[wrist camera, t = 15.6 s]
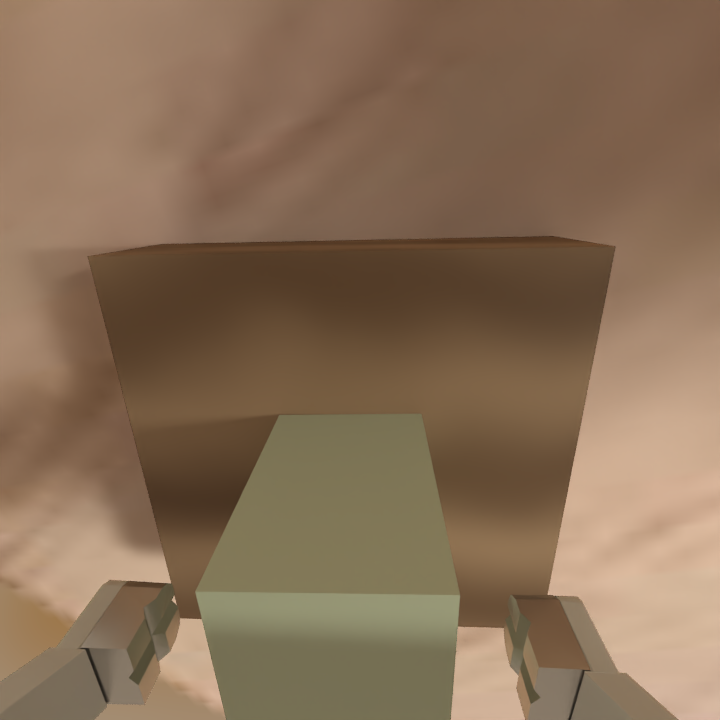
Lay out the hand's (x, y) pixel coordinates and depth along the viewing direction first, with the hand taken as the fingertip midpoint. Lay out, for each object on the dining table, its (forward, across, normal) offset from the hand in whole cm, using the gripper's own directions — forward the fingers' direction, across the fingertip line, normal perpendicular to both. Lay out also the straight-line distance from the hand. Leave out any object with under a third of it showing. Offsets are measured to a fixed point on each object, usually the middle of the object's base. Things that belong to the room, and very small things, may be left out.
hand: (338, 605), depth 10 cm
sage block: (+6, 0, 0) cm, 6 cm away
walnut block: (+10, 0, 0) cm, 11 cm away
